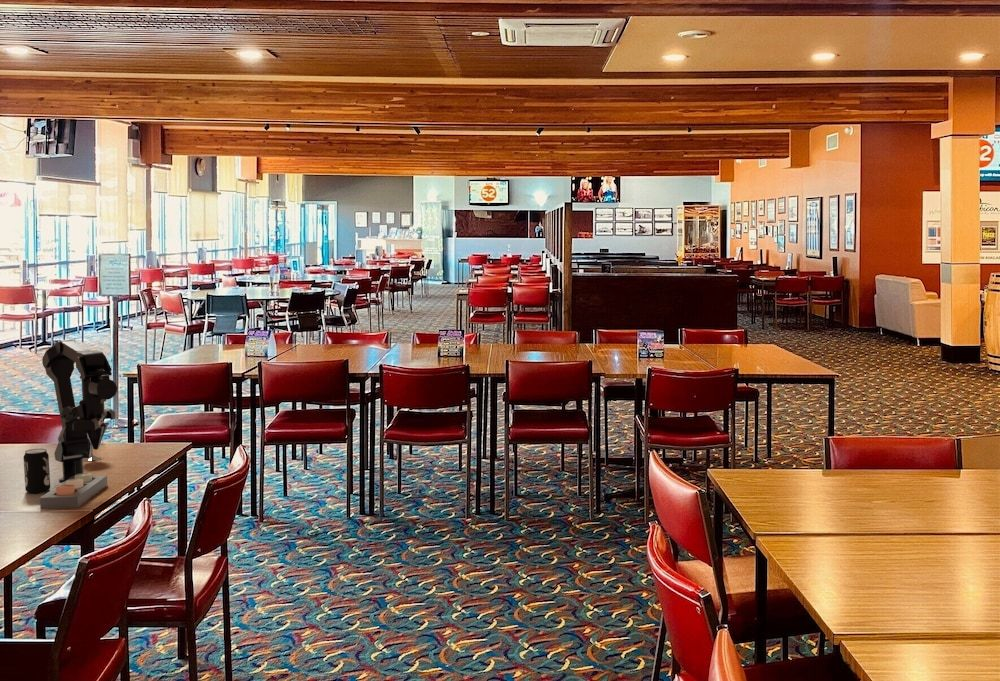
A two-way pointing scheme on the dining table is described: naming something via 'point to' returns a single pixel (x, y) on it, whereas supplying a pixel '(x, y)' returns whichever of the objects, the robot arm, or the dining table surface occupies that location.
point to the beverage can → (36, 471)
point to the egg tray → (75, 499)
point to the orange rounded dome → (65, 490)
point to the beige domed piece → (75, 483)
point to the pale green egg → (84, 477)
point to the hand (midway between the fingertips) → (96, 449)
